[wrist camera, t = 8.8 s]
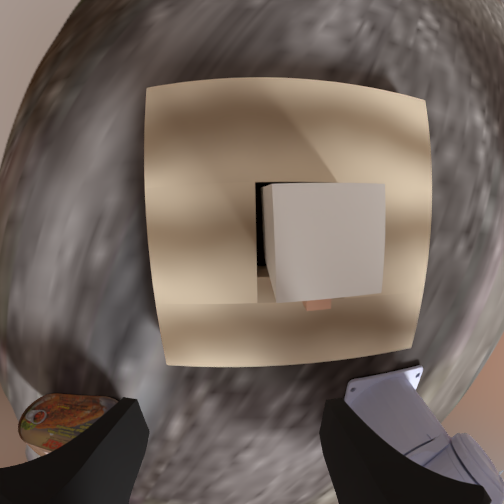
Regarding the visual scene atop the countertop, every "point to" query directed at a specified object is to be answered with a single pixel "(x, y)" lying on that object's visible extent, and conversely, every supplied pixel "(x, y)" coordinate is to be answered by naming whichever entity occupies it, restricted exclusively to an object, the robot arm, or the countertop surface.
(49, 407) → the tin
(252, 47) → the countertop surface
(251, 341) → the socket plate
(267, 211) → the keyed peg
